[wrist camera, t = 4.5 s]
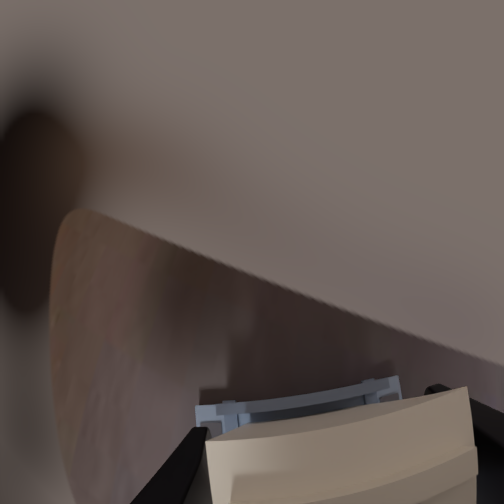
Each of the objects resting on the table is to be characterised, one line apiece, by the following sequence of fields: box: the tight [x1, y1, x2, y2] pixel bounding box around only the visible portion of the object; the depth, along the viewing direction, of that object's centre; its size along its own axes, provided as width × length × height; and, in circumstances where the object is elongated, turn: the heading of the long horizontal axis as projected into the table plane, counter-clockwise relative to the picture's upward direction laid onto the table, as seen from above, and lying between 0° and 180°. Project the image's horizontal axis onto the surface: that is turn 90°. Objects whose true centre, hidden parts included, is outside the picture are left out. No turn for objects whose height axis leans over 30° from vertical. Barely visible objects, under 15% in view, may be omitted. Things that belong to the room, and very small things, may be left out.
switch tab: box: [205, 386, 478, 504], centre depth 8 cm, size 3×5×10 cm, turn 96°
